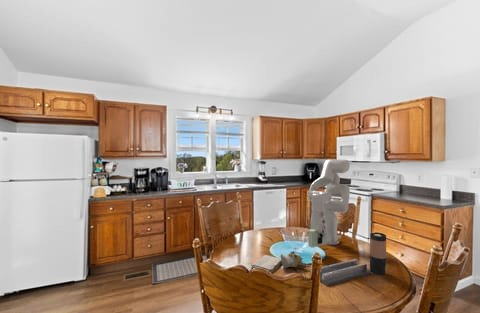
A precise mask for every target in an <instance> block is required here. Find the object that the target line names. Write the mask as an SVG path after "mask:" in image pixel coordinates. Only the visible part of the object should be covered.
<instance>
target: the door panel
mask: <svg viewBox="0 0 480 313" xmlns="http://www.w3.org/2000/svg"><path fill="white" fill-rule="evenodd" d="M320 235H321V234H320ZM325 245H328V244H327V232H326V235H325V236H323V237H322V243H321V244H318V232H317V230H315V229H309V230H308V247H310V248H317V247H321V246H325Z"/></svg>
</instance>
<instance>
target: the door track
mask: <svg viewBox="0 0 480 313" xmlns="http://www.w3.org/2000/svg"><path fill="white" fill-rule="evenodd" d="M358 262H359V261H358V258H357V259H356V258H353V259H350V260H345V261H342V262H337V263H332V264H329V265H324V266H320V267H321V272H320V282H321V283H323V284H324V285H325V286H327V287H328V286H333V285H336V284H339V283H343V282H347V281H350V280H353V279H357V278H360V277H361V278H362V277H365V276H367V275H371V274H372V272H371V271H370V269H368V264H367V263H366V262H364V263H360V264H358ZM309 273H310V274H311V271H310V272H309Z"/></svg>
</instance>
